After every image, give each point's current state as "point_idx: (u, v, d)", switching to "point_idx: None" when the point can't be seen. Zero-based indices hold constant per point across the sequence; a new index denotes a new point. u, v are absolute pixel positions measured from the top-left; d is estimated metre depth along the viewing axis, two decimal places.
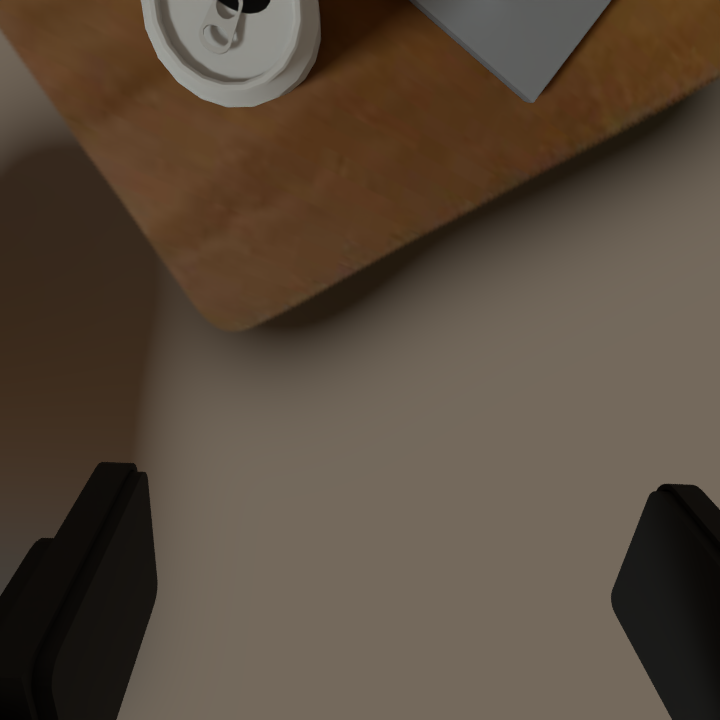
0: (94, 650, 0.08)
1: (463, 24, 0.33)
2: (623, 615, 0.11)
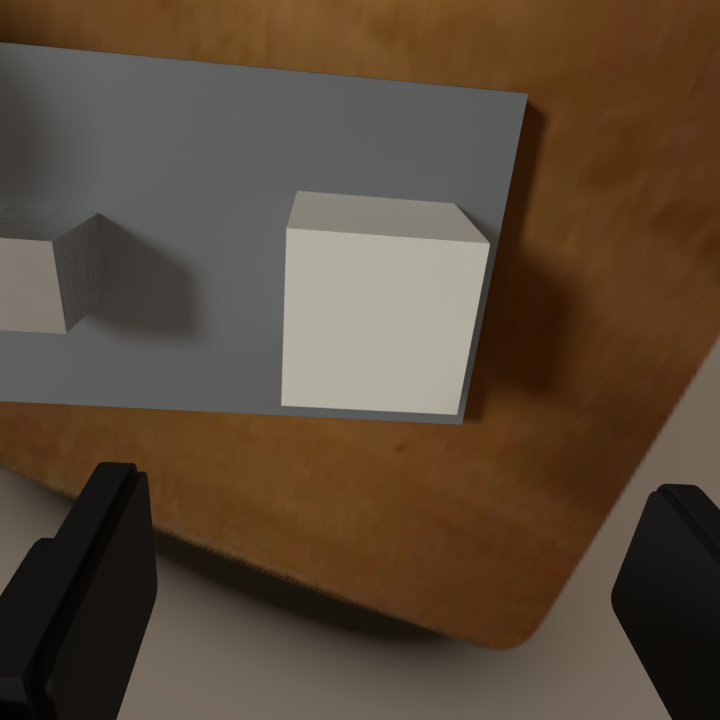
0: (94, 650, 0.08)
1: None
2: (623, 615, 0.11)
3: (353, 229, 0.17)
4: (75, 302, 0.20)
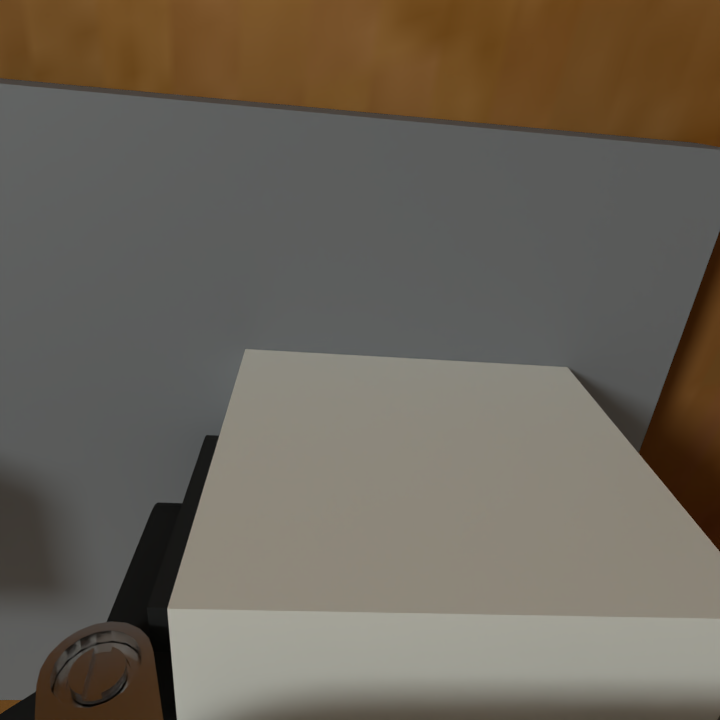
0: None
1: None
2: None
3: (373, 572, 0.06)
4: None
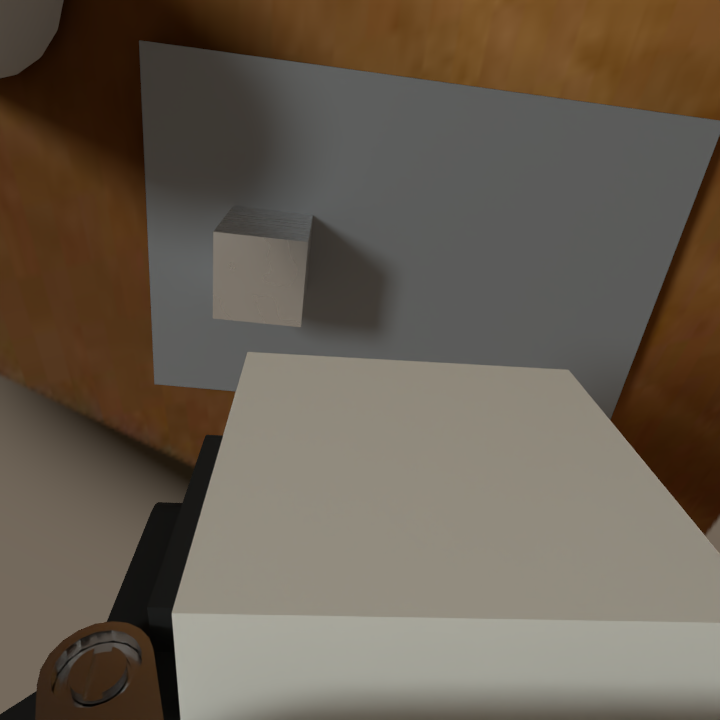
0: None
1: (165, 258, 0.24)
2: None
3: (376, 576, 0.06)
4: None
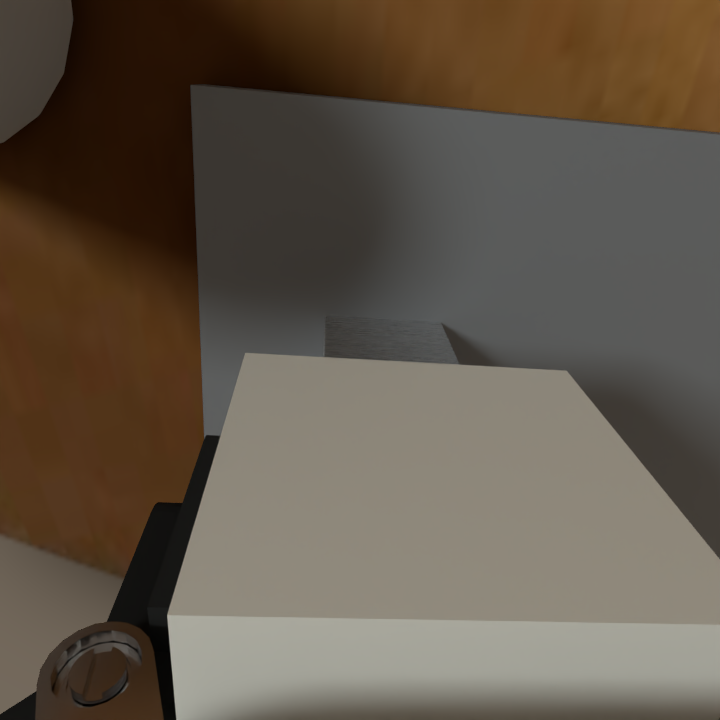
0: None
1: (226, 388, 0.17)
2: None
3: (373, 577, 0.06)
4: None
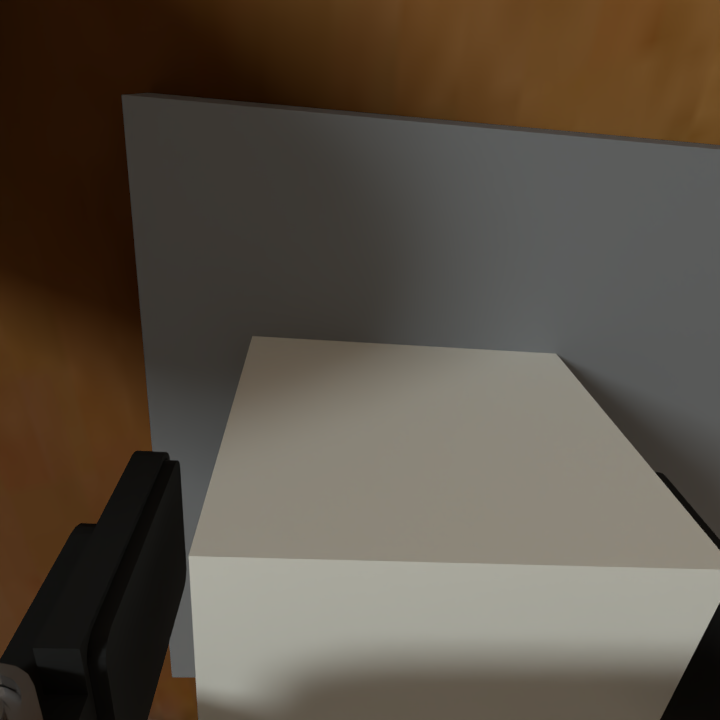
0: (138, 628, 0.08)
1: (187, 494, 0.12)
2: None
3: (373, 527, 0.07)
4: None
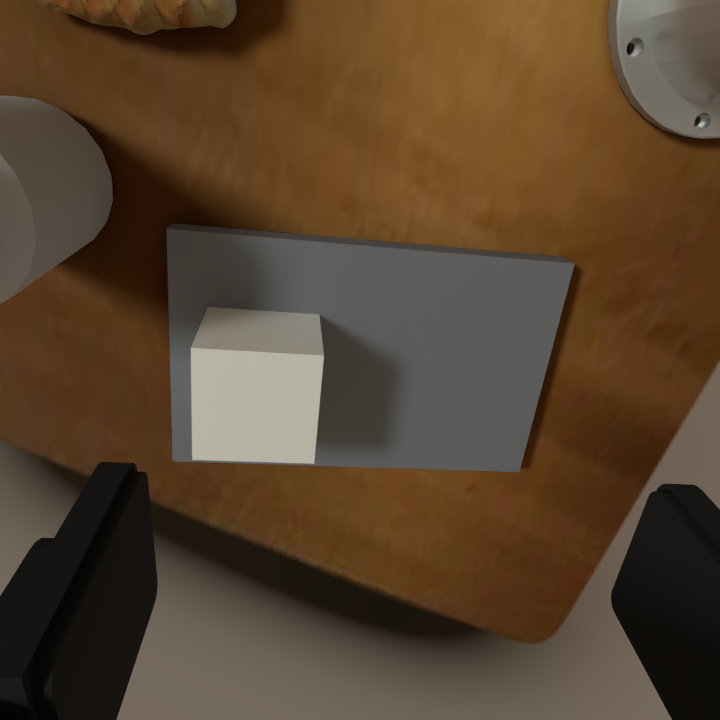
0: (94, 650, 0.08)
1: (182, 370, 0.32)
2: (623, 615, 0.11)
3: (236, 346, 0.26)
4: None
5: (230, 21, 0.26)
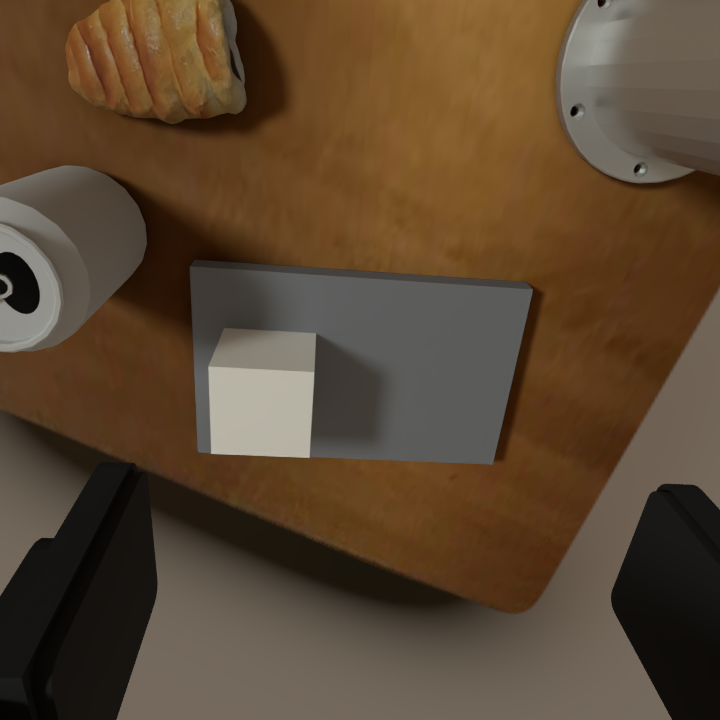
0: (94, 650, 0.08)
1: (204, 378, 0.39)
2: (623, 615, 0.11)
3: (244, 364, 0.33)
4: None
5: (241, 109, 0.32)
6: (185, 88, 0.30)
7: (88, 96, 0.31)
